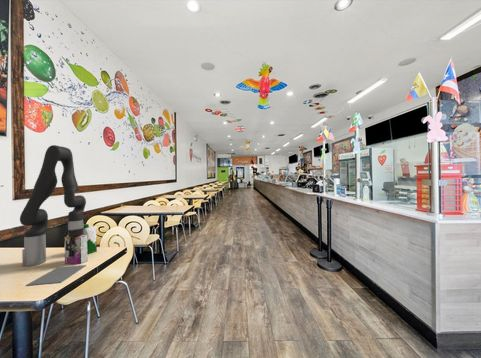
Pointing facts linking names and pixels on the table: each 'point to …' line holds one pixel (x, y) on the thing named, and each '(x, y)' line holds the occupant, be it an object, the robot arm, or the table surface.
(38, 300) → the table surface
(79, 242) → the candy bar box
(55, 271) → the mat
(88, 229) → the milk carton
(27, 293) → the table surface
